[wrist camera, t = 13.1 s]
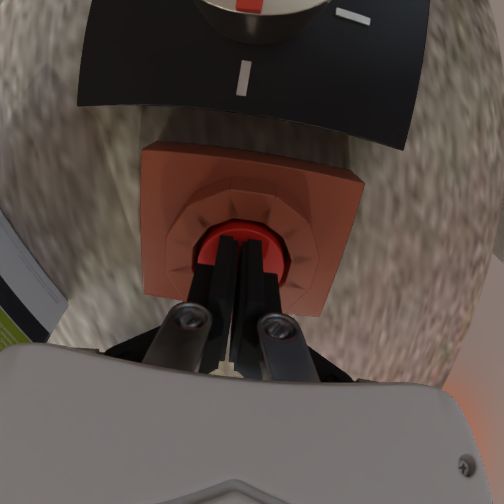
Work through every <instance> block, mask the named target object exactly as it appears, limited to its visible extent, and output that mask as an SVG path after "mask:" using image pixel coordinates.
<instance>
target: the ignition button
mask: <svg viewBox="0 0 504 504" xmlns="http://www.w3.org/2000/svg"><path fill="white" fill-rule="evenodd" d="M220 235H227V236H234V237H233V240H238V252H237V265H236V278H237V272H238V266H239V260H240V253H241V247H242V242H243V241H245V242H247V241H248V238H249V239H256V240H262V254H263V271H264V272H269V273H276V274H277V276H278V283H279V282H280V280H281V278H282V275H283V271H284V259H283V253H282V247H281V241H280V237H279V235H278V234H277V233H276V232H275V231H273V230H272V229H271V228H269V227H268V226H267V225H265V224H264V223H263V222H256V221H250V220H243V219H235V218H233V219H230V220H227V221H225V222H222V223H219V224H216V225H214V226H211V227H209V228H208V230H207V232H206V234H205V236H204V240H203V243H202V246H201V250H200V253H199V256H198V263H201V264H208V265H215V260H216V255H217V249H218V244H219V239H220ZM236 278H235V285H236Z"/></svg>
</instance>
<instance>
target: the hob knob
mask: <svg viewBox="0 0 504 504" xmlns="http://www.w3.org/2000/svg"><path fill="white" fill-rule="evenodd" d="M193 1H194V3H195V4H196V5H197V7H198V8H199V10H200V11H201V13H202V14H203V16H204V17H205V18H206V20H207V21H208V22H209V24H210V25H211V26H212V27H213V28H214V29H215V30H216V31H218V32H219V33H221V34H222V35H224V36H226V37H227V38H230V39H232V40H235V41H238V42H241V43H246V44H254V45H267V44H275V43H279V42H283V41H285V40H288V39H290V38H292V37H294V36H296V35H298V34H299V33H301V32H302V31H303V30H304V29H306V28H307V26H308V25H309V24H310V23H311V22H312V21H313V20H314V19H315V17H316V16H317V15H318V14H319V13H320V12H321V11H322V10H323V9H324V8H325V6H326V5H327V4H328V3H329V2H330V1H331V0H193Z"/></svg>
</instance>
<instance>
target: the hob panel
mask: <svg viewBox="0 0 504 504" xmlns="http://www.w3.org/2000/svg"><path fill="white" fill-rule="evenodd" d="M429 5H430V0H331V1H330V2H329V3H328V4H327V5H326V6H325V8H324V9H323V10H322V11H321V12H320V13H319V14H318V15H317V16H316V17H315V19H314V20H313V21H312V22H311V23H310V24H309V25H308V26H307V28H306V29H304V30H303V31H302V32H301V33H299V34H298V35H296V36H294V37H292V38H290V39H288V40H285V41H283V42H279V43H275V44H267V45H254V44H246V43H241V42H238V41H235V40H232V39H230V38H227V37H226V36H224V35H222V34H221V33H219V32H218V31H216V30H215V29H214V28H213V27H212V26H211V25H210V24H209V22H208V21H207V20H206V18H205V17H204V16H203V14H202V13H201V11H200V10H199V8H198V7H197V5H196V4H195V3H194V1H193V0H92V3H91V7H90V12H89V16H88V21H87V26H86V32H85V38H84V44H83V50H82V57H81V65H80V74H79V84H78V97H77V106H100V105H145V106H169V107H185V108H197V109H208V110H217V111H226V112H234V113H241V114H248V115H255V116H261V117H268V118H273V119H279V120H284V121H290V122H295V123H300V124H305V125H309V126H314V127H318V128H323V129H327V130H331V131H335V132H339V133H343V134H347V135H351V136H355V137H358V138H362V139H365V140H369V141H372V142H376V143H379V144H382V145H386V146H389V147H392V148H395V149H398V150H401V151H403V150H404V147H405V143H406V139H407V135H408V131H409V127H410V123H411V118H412V114H413V110H414V105H415V100H416V95H417V91H418V85H419V80H420V75H421V69H422V63H423V56H424V50H425V42H426V35H427V26H428V16H429Z"/></svg>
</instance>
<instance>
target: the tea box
mask: <svg viewBox="0 0 504 504" xmlns="http://www.w3.org/2000/svg"><path fill="white" fill-rule="evenodd" d="M67 307H68V300H67V299H66V298H65V297H64V296H63V294H62V293H61V292H60V291H59V289H58V288H57V287H56V286H55V285H54V283H53V282H52V281H51V280H50V278H49V277H48V276H47V275H46V273H45V272H44V271H43V270H42V268H41V267H40V266H39V264H38V263H37V262H36V260H35V259H34V258H33V256H32V255H31V254H30V252H29V251H28V249H27V248H26V247H25V245H24V244H23V242H22V241H21V240H20V238H19V237H18V235H17V234H16V232H15V231H14V229H13V228H12V226H11V225H10V223H9V222H8V220H7V219H6V217H5V216H4V214H3V213H2V211H1V210H0V352H1V351H2V350H3V349H4V348H7V347H9V346H11V345H15V344H20V343H47V341H48V339H49V337H50V335H51V334H52V332H53V330H54V329H55V327H56V325H57V324H58V322H59V320H60V319H61V317H62V315H63V313H64V312H65V310H66V308H67Z"/></svg>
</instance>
